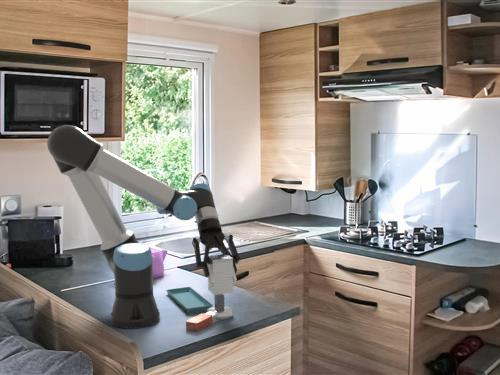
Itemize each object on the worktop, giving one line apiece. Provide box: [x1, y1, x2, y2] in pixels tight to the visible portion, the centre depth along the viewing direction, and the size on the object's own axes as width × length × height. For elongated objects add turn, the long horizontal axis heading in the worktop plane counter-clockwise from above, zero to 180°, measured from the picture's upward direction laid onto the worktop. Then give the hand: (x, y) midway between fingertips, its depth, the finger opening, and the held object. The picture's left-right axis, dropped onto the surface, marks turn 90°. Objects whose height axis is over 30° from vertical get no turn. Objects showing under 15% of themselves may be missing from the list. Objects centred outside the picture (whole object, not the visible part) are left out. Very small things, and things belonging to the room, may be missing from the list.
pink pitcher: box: [149, 247, 168, 280], centre depth 238 cm, size 17×17×12 cm
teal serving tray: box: [166, 286, 214, 314], centre depth 202 cm, size 26×9×2 cm, turn 23°
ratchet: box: [185, 294, 233, 333], centre depth 182 cm, size 19×8×7 cm, turn 149°
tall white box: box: [207, 253, 235, 296], centre depth 185 cm, size 6×6×11 cm
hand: (223, 283), depth 182 cm, fingers closed on tall white box, 6 cm apart
